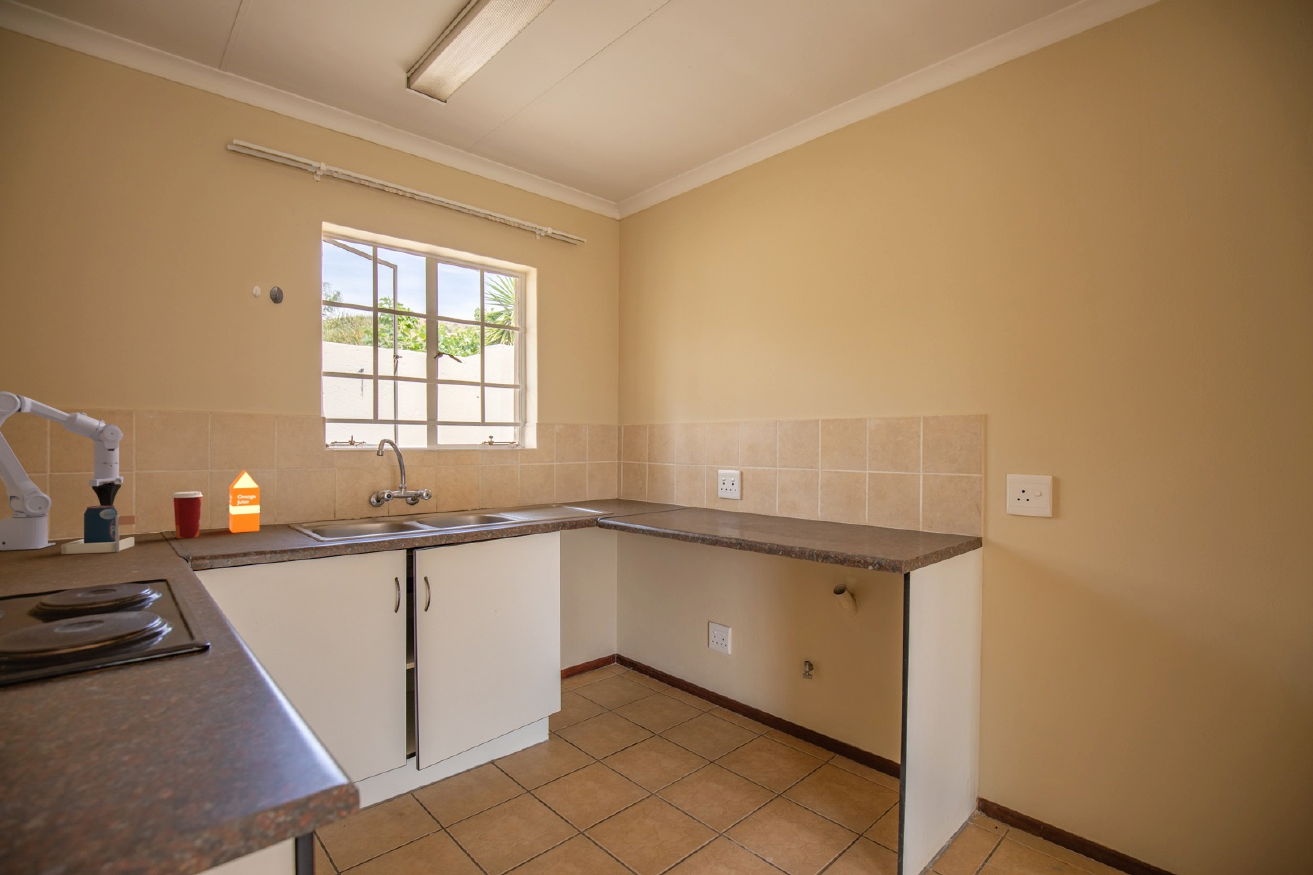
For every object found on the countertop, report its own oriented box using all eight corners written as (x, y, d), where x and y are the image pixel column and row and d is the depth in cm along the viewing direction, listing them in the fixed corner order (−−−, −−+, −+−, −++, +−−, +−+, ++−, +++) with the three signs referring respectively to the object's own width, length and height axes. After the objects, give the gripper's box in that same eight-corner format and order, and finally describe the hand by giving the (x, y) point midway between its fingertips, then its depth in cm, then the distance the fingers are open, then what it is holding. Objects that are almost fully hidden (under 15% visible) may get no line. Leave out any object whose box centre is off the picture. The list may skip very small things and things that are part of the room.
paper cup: (208, 535, 199) (209, 491, 199) (188, 539, 191) (188, 493, 191) (186, 534, 200) (186, 491, 200) (165, 538, 192) (165, 493, 192)
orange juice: (256, 527, 216) (256, 469, 216) (259, 530, 210) (260, 470, 210) (228, 529, 212) (229, 470, 212) (231, 532, 205) (231, 471, 205)
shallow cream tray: (58, 554, 166) (59, 517, 166) (82, 547, 176) (83, 512, 176) (134, 551, 171) (134, 515, 171) (153, 544, 181) (153, 510, 181)
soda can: (119, 549, 174) (119, 506, 174) (86, 552, 169) (86, 508, 169) (114, 546, 179) (114, 504, 179) (81, 549, 173) (82, 506, 173)
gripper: (109, 464, 185) (109, 510, 185) (134, 462, 199) (134, 505, 199) (80, 464, 183) (80, 511, 183) (108, 462, 197) (108, 505, 197)
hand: (106, 508), depth 191 cm, fingers closed
